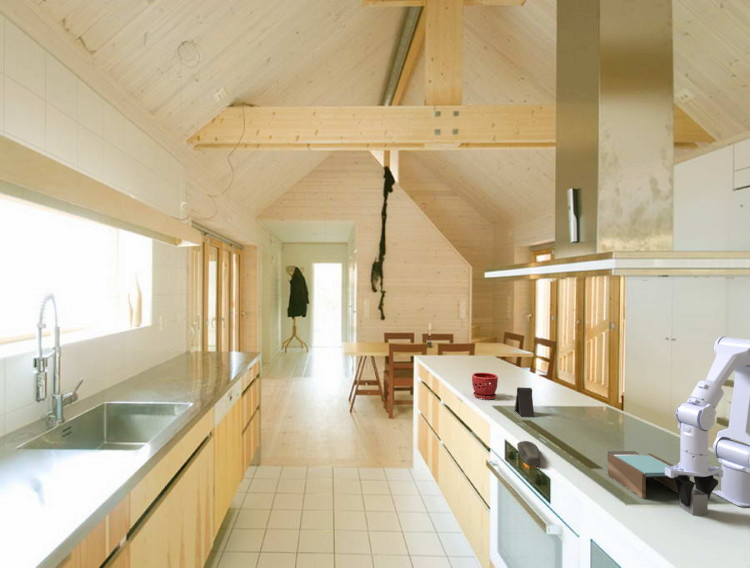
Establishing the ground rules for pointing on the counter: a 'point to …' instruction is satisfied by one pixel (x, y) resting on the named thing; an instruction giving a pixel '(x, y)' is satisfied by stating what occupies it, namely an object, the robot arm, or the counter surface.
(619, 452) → the trapdoor flap
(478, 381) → the plant pot
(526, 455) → the decorative stone
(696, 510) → the slate block
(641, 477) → the stand
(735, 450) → the robot arm
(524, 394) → the phone stand
